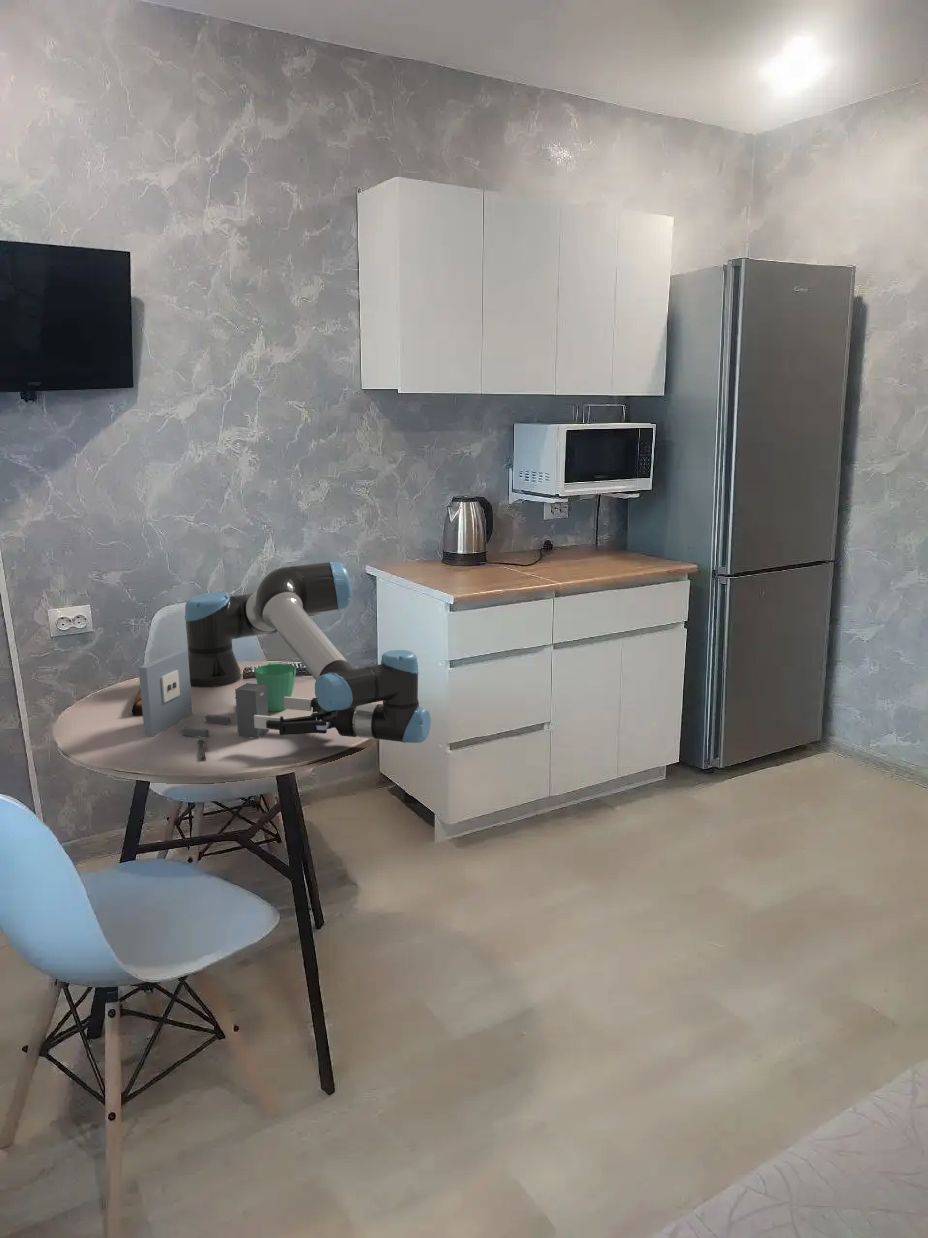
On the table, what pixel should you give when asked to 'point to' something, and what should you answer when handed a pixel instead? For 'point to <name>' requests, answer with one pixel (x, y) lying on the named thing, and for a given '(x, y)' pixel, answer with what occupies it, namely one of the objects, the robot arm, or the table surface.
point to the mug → (276, 683)
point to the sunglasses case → (137, 705)
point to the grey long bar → (202, 748)
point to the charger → (251, 708)
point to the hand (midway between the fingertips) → (270, 711)
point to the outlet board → (169, 695)
